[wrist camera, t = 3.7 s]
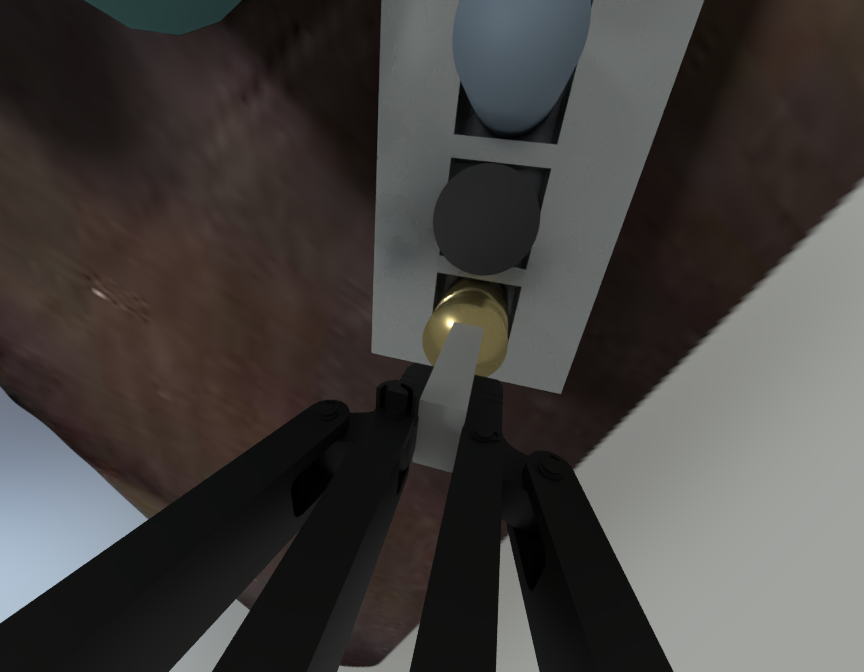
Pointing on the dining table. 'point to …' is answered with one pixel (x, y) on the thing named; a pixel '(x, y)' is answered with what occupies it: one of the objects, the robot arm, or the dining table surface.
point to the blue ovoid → (517, 58)
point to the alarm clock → (166, 13)
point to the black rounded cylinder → (486, 219)
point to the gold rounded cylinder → (471, 321)
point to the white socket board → (530, 156)
